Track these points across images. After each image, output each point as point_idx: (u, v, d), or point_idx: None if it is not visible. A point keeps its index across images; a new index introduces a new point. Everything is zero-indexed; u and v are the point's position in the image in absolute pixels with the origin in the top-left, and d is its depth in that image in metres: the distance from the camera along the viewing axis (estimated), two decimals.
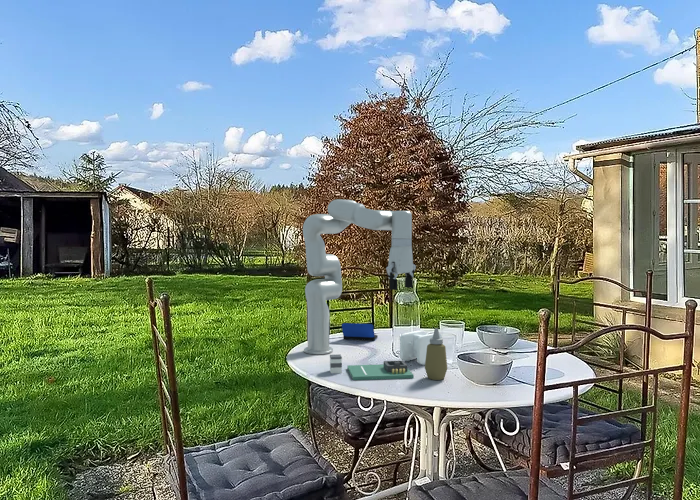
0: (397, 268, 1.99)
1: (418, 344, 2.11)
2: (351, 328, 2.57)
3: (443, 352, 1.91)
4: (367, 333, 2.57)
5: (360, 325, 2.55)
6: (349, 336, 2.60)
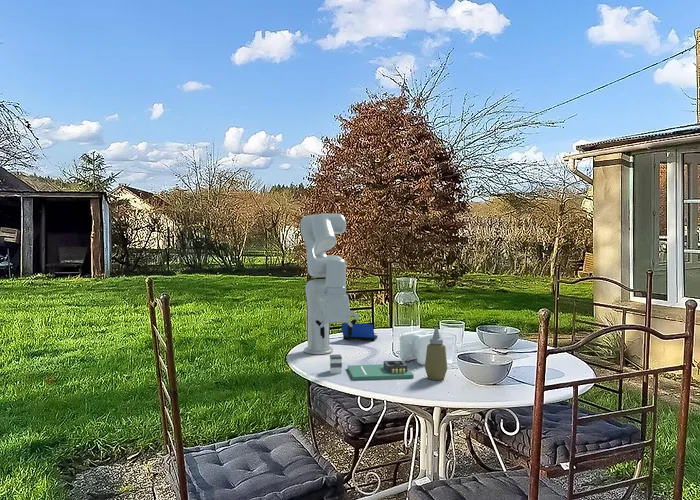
0: None
1: (418, 344, 2.11)
2: None
3: (443, 352, 1.91)
4: (367, 333, 2.57)
5: (360, 325, 2.55)
6: None
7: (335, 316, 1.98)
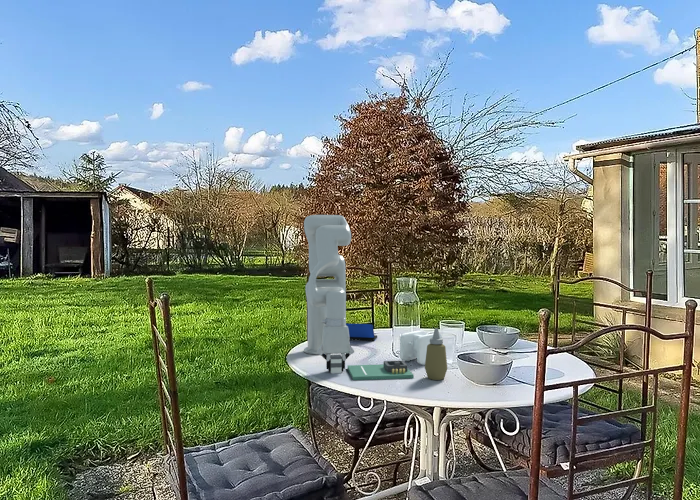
0: None
1: (418, 344, 2.11)
2: (351, 328, 2.56)
3: (443, 352, 1.91)
4: (367, 333, 2.56)
5: (360, 325, 2.54)
6: (349, 336, 2.60)
7: (335, 347, 1.99)
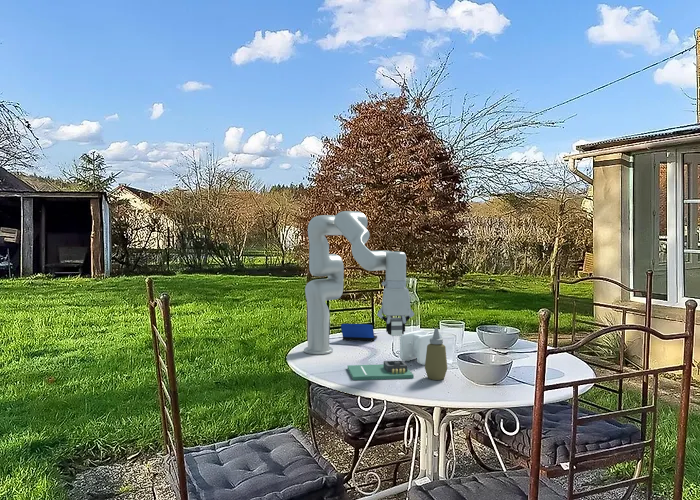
0: None
1: (418, 344, 2.11)
2: (351, 328, 2.56)
3: (443, 352, 1.91)
4: (367, 333, 2.56)
5: (359, 326, 2.54)
6: (348, 337, 2.59)
7: (396, 309, 1.97)
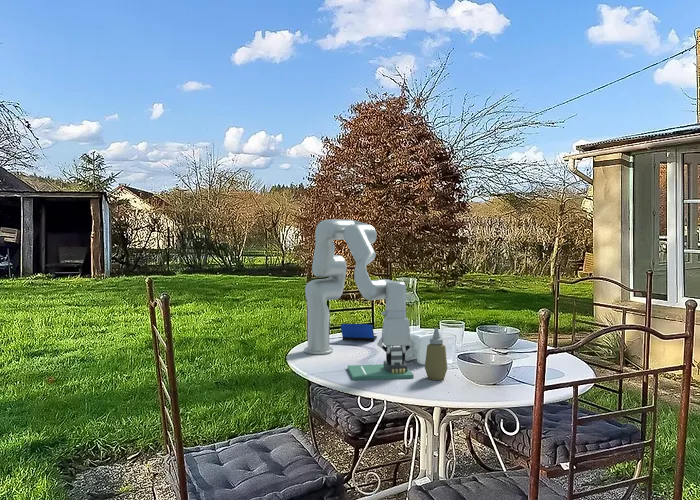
0: None
1: (418, 344, 2.11)
2: (350, 329, 2.55)
3: (443, 352, 1.91)
4: (367, 334, 2.55)
5: (359, 326, 2.53)
6: (348, 337, 2.59)
7: (396, 339, 1.98)
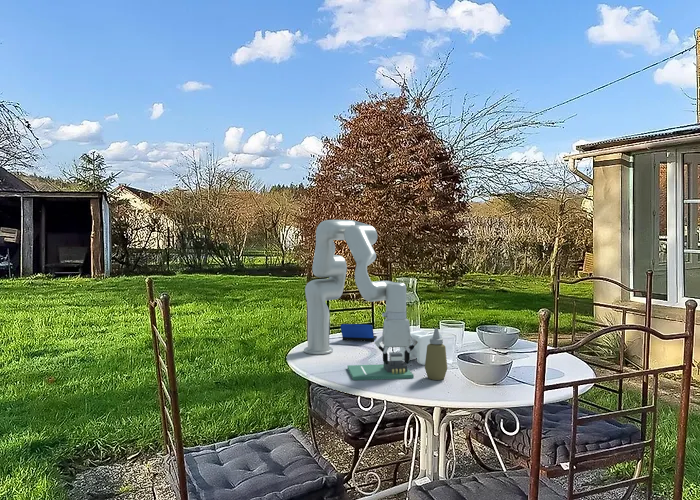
0: None
1: (418, 344, 2.11)
2: (350, 329, 2.55)
3: (443, 352, 1.91)
4: (367, 334, 2.55)
5: (359, 326, 2.53)
6: (348, 337, 2.58)
7: (396, 340, 1.98)
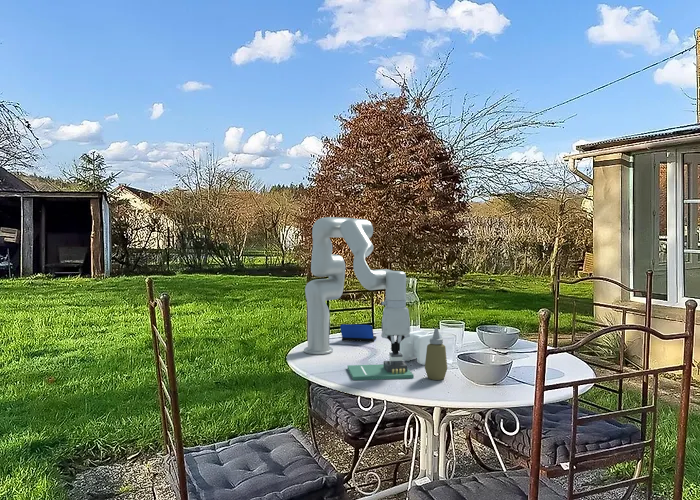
0: None
1: (418, 344, 2.11)
2: (350, 329, 2.54)
3: (443, 352, 1.91)
4: (366, 334, 2.54)
5: (359, 326, 2.52)
6: (348, 337, 2.58)
7: (395, 329, 1.98)
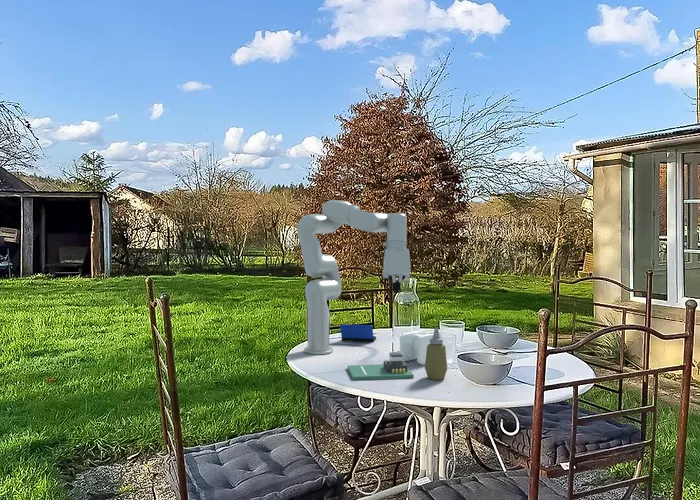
0: None
1: (418, 344, 2.11)
2: (350, 329, 2.54)
3: (443, 352, 1.91)
4: (366, 334, 2.54)
5: (359, 326, 2.52)
6: (347, 337, 2.57)
7: (396, 268, 2.05)
